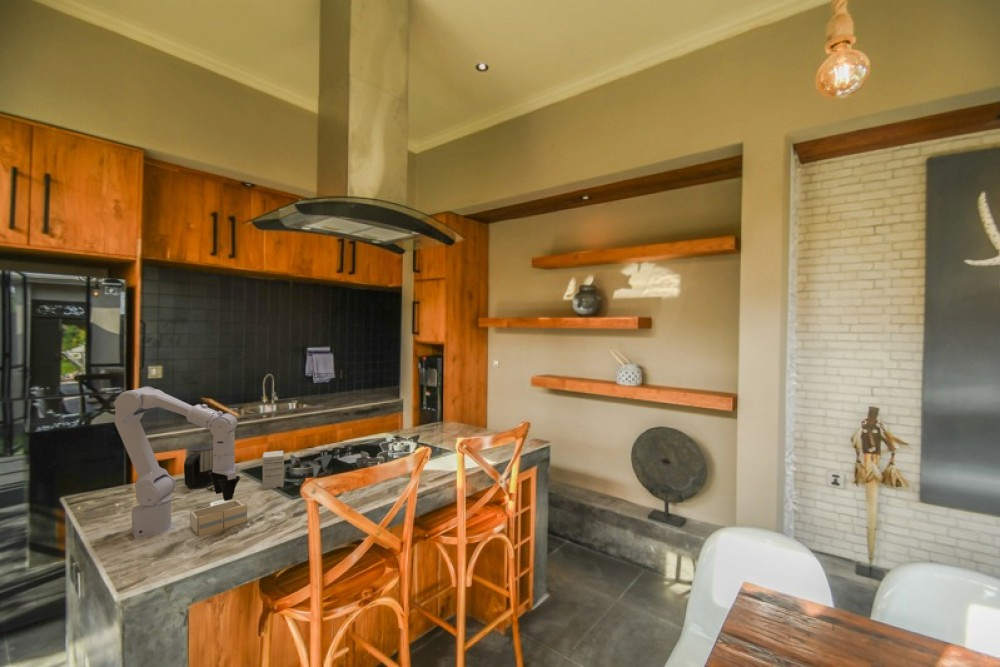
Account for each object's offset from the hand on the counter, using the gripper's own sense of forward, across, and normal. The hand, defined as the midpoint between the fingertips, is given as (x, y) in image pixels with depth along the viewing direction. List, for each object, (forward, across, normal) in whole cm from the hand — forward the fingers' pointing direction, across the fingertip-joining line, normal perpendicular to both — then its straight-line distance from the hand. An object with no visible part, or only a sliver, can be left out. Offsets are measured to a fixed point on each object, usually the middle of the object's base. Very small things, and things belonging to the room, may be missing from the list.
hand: (223, 496), depth 138 cm
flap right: (+9, -2, -3) cm, 10 cm away
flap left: (+9, -2, +4) cm, 10 cm away
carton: (+10, +2, +1) cm, 10 cm away
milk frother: (+10, +41, -8) cm, 43 cm away
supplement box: (+10, +24, -24) cm, 36 cm away
